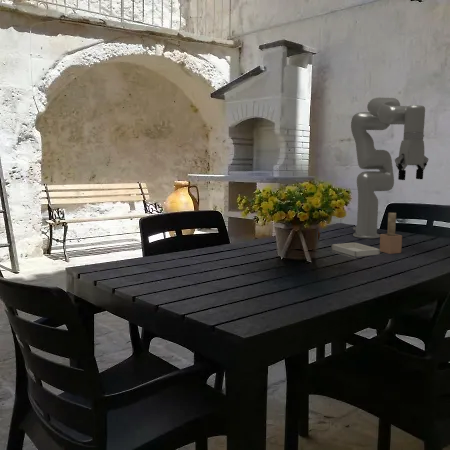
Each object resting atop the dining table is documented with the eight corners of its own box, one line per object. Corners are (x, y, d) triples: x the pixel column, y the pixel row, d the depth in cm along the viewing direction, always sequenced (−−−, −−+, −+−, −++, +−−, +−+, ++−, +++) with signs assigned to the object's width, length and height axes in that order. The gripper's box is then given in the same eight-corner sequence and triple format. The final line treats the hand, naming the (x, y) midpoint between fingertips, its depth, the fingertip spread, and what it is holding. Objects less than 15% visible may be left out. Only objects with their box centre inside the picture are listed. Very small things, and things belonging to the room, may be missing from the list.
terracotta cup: (379, 253, 213) (380, 234, 211) (390, 252, 215) (391, 233, 214) (389, 256, 207) (390, 236, 206) (401, 255, 210) (402, 235, 208)
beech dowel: (384, 251, 212) (386, 212, 209) (390, 250, 213) (392, 212, 210) (389, 252, 209) (392, 213, 207) (395, 252, 210) (397, 213, 208)
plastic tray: (331, 251, 216) (331, 244, 216) (354, 249, 221) (354, 242, 221) (355, 259, 202) (355, 251, 201) (379, 256, 207) (380, 249, 206)
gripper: (421, 137, 215) (419, 178, 218) (390, 136, 207) (387, 179, 210) (436, 137, 208) (433, 179, 211) (404, 136, 201) (401, 180, 204)
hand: (410, 179), depth 211 cm, fingers open, 9 cm apart
